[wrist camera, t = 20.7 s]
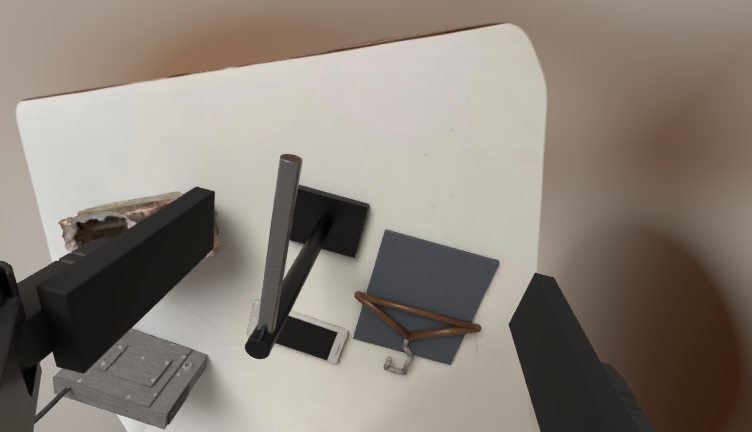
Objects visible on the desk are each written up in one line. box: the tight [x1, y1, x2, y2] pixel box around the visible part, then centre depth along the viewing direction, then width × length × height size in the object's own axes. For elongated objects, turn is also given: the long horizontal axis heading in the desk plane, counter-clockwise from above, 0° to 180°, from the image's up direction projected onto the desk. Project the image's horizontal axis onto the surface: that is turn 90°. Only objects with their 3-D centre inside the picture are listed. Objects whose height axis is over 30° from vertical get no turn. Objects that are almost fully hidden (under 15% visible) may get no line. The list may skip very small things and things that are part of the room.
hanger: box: [354, 291, 481, 375], centre depth 55 cm, size 19×1×14 cm
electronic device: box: [34, 329, 208, 429], centre depth 54 cm, size 17×7×20 cm, turn 71°
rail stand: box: [245, 154, 369, 359], centre depth 36 cm, size 20×10×24 cm, turn 166°
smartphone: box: [247, 300, 348, 364], centre depth 58 cm, size 7×16×1 cm, turn 71°
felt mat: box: [353, 230, 499, 365], centre depth 53 cm, size 16×20×1 cm
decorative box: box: [58, 192, 221, 260], centre depth 47 cm, size 13×20×10 cm, turn 95°
